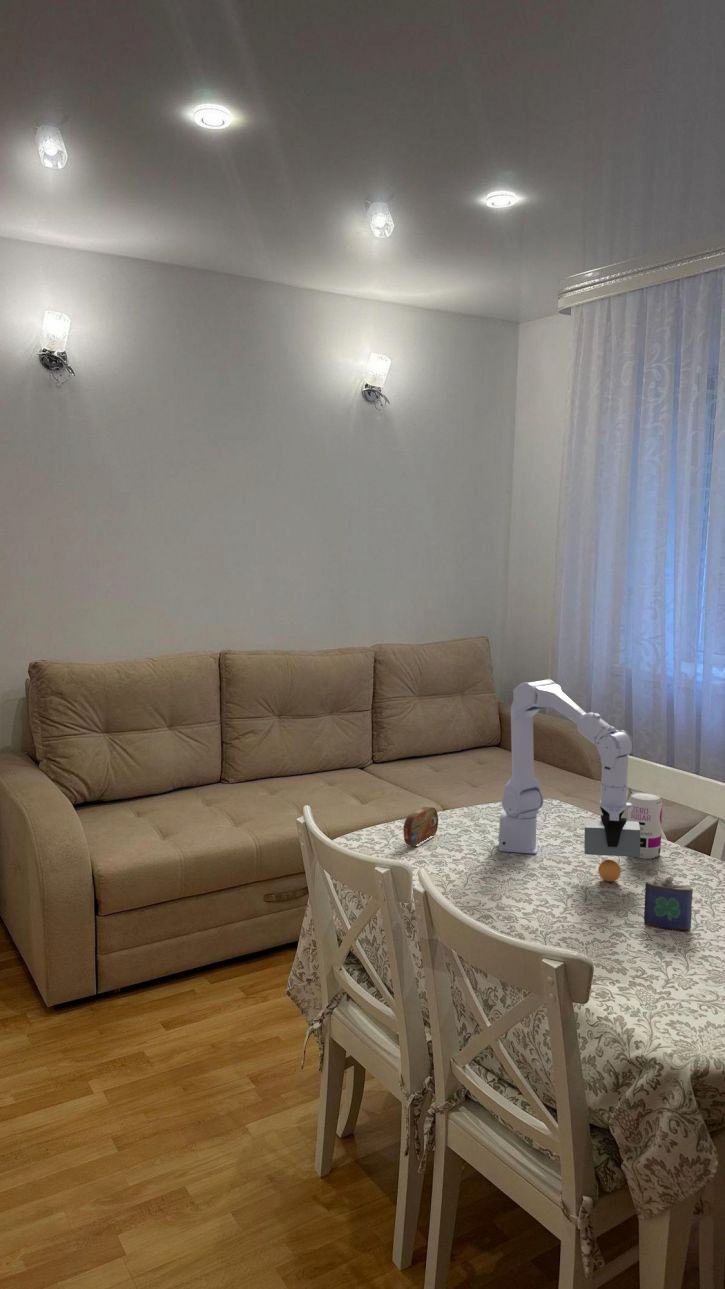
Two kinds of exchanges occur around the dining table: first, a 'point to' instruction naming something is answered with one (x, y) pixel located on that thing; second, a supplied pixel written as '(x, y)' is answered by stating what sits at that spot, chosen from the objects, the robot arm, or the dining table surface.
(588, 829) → the grey rectangular prism
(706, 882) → the dining table surface
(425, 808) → the tin
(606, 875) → the ball
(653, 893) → the flask
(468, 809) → the dining table surface
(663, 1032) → the dining table surface
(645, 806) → the supplement can
